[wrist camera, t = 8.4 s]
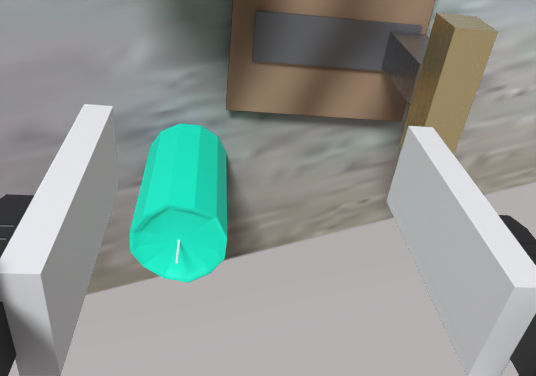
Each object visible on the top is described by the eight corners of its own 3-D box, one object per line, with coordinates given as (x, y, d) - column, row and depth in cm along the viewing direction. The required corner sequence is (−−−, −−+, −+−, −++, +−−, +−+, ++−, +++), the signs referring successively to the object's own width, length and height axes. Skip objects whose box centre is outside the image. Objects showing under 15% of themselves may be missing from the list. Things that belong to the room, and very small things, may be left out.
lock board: (226, 102, 37) (226, 112, 36) (237, -63, 31) (237, -59, 29) (396, 114, 38) (402, 123, 37) (438, -41, 32) (448, -37, 31)
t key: (372, 104, 36) (409, 168, 29) (401, -14, 31) (453, 27, 24) (405, 106, 36) (449, 170, 29) (438, -10, 32) (500, 31, 24)
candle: (232, 184, 41) (235, 291, 31) (159, 194, 41) (139, 305, 31) (219, 118, 38) (218, 215, 28) (140, 129, 38) (110, 230, 28)
